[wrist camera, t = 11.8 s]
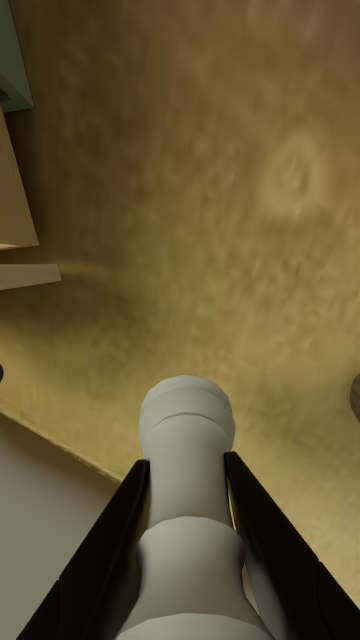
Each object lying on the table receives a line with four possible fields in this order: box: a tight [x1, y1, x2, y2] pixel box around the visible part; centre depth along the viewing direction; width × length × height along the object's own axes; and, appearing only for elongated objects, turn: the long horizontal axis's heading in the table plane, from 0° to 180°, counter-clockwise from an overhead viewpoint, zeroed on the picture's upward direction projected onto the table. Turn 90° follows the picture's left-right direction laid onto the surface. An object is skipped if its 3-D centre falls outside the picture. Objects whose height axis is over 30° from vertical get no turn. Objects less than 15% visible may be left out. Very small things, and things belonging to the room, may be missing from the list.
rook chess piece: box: [114, 375, 275, 640], centre depth 7 cm, size 4×4×8 cm
